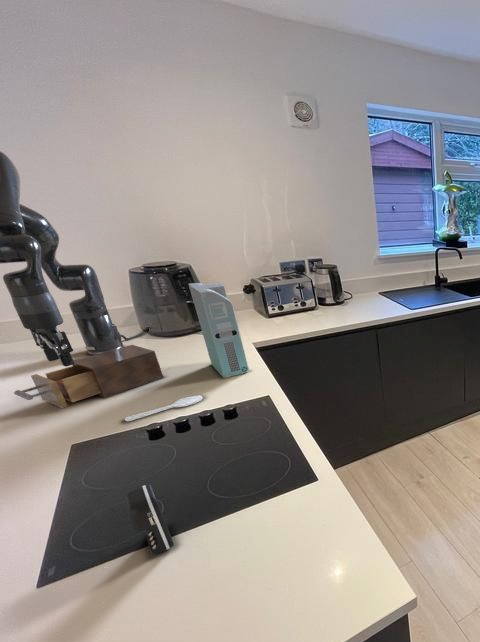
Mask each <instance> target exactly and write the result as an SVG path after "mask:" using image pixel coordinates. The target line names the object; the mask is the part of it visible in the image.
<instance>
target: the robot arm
mask: <svg viewBox="0 0 480 642" xmlns="http://www.w3.org/2000/svg"><path fill="white" fill-rule="evenodd" d="M20 201H21V176H20V174H19V171H18V169H17V167H16V165H15V164H14V162H13V161H12V160H11V159H10V157H9V156H8V155H7V154H6V153H5V152H2V151H1V150H0V264H2V265H3V264H15V263H16V264H17V263H26V267H25V268H22V269H19V270H15V271H10V272H7V273H4V274H3V276H2V280H3V283H4V285H5V287H6V289H7V292H8V293H9V295H10V298H11V303H12V305H13V307H14V309H15V311H16V313H17V314H16V315H18V318H19V320H20V322H21V324H22V326H23V328H24V329H26V330H29V331H30V333H31V336H32V337H33V340H34V342H35V345H36V346H37V347H40V349H41V350H42V351H43V353H44V355H45V357H46V359H47V361H48V362H54V361H58V360H60V363H61V365H62V367H64V368H67V367H71V366H72V365H73V364H74V361H73V360H74V359H73V357H72V354H71V352H74V348H73V347H72V344H71V342H70V341H69V338H68V336H67V333H66V332H65V331H64V330H63V331H60V330H59V329H58V328H57V326H60V325H62V324H63V323H64V320H63V319H64V318H63V316H62V314H61V312H60V309H59V308H58V305H57V303H56V300H55V299H54V297H53V295H52V294H51V292H50V290H49V287H48V285H47V283H46V280H45V277H44V274H43V272H44V273H45V275H46V276H47V278H48V279H49V280H50V281H51V283H52V284H53V286H55V287H56V288H57V289H58V290H60V291H63V292H77V291H78V292H79V291H83V292H84V295H83V296H82V297H80V298H77V299H74V300H71V301H70V302H69V303H68V305H69V309H70V312H71V313H72V316H73V318H74V320H75V323H76V326H77V328H78V330H79V333H80V335H81V337H82V340H83V343H84V345H85V346H84V349H86V350H87V353H88V355H90V356H92V355H96V354H99V353H103V352H107V351H111V350H115V349H118V348H122V347H125V346H124V342H123V340H125V341H130V340H133V339H136V338H139V337H142V336H143V335H145V334H147V333H148V332H144V331H143V332H140V333H138V334H136V335H134V336H130V337H126V336H125V335H124V334H121V333H120V332H119V330H118V327H117V324H115V323H113V321H112V319H111V315H110V313H109V311H108V308H107V306H106V303H105V298H104V294H103V291H102V288H101V285H100V281H99V278H98V274H97V273H96V271H95V269H94V267H92V266H91V265H89V264H61V263H60V261H58V259H57V257H56V254H57V250H58V247H59V245H60V236H59V233H58V232H57V231H56V229H55V228H54V227H53V225H52V223H50V221H49V220H48V219H47V218H46V217H45V216H44V215H42V214H41V213H39V212H38V211H36V210H34V209H32V208H30V207H28V206H26V205H23V204H21V203H20ZM122 339H123V340H122Z"/></svg>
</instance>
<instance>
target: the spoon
mask: <svg viewBox="0 0 480 642" xmlns="http://www.w3.org/2000/svg"><path fill="white" fill-rule="evenodd" d="M203 399H204V396H203V395H201V394H200V395H192V396H191V395H190V396H186V397H183V398H180V399H177V400H176V401H174V402H173V403H172V404H167V405H164V406H161V407H157V408H153V409H151V410H147V411H142V412H139V413H136V414H132V415H130V416H127V417H124V420H125V422H131V421H135V420H138V419H141V418H145V417H147V416H151V415H154V414H156V413H159V412H163V411H166V410H169V409H172V408H184V407H187V406H191V405H194V404H197V403H199V402H200V401H202V400H203Z"/></svg>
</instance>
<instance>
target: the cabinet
mask: <svg viewBox="0 0 480 642" xmlns="http://www.w3.org/2000/svg"><path fill="white" fill-rule="evenodd" d="M73 361H74V364H73V365H71V366H75V365H77V366H80V367H83V368H86V369H89V370H91V371H93V374H94V376H95V379H96V381H97V383H98V386H99V388H100V391H101V393H99V394H96V396H99V397H101V398H108V397H111V396H114V395H117V394H120V393H122V392H123V393H124V392H126V391H128V390H131V389H134V388H137V387H140V386H143V385H146V384H149V383H152V382H156V381H157V380H160V379H163V378H164V374H163V371H162V368H161V366H160V363H159V360H158V356H157V355H156V351H155V350H152V349H149V348H147V347H142V346H138V345H135V344H130V345H126V346H124V347H122V348H118V349H115V350H111V351H107V352H103V353H99V354H96V355H89V356H85V357H81V358H77V359H73Z"/></svg>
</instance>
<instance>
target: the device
mask: <svg viewBox="0 0 480 642" xmlns="http://www.w3.org/2000/svg"><path fill="white" fill-rule="evenodd" d="M188 287H189V290H190V295H191V298H192V302H193V304H194V309H195V311H196V315H197V319H198V323H199V326H200V329H201V332H202V336H203V339H204V343H205V346H206V349H207V350H206V351H207V353H208V356H209V360H210V365H212V367H213V368H214V369H215V370H216V371H217V372H218V373H219V375H220V376H221V377H222V378H223V379H226V378H230V377H233V376H237V375H242V374H245V373H248V372H249V371H250V369H249V364H248V360H247V356H246V352H245V349H244V345H243V340H242V336H241V333H240V328H239V325H238V320H237V316H236V311H235V308H234V305H233V302H232V301H231V300H230V299H229V298H228V295H227V292H226V288H225V285H223V284H222V283H221V282H218V283H217V282H216V283H208V284H204V283H200V282H191V283H188Z"/></svg>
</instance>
